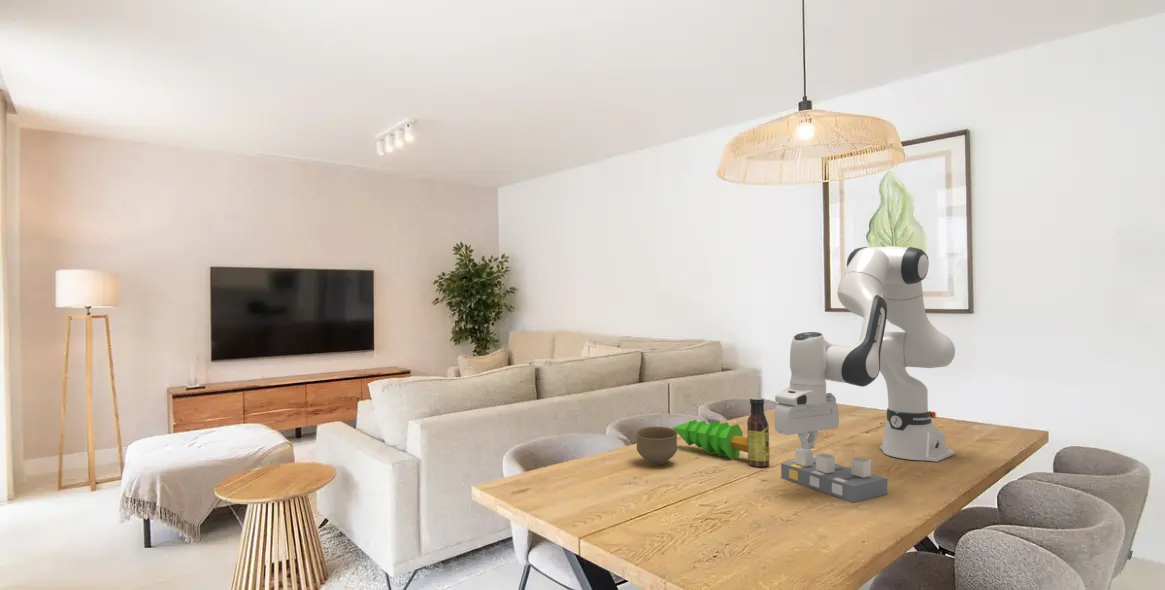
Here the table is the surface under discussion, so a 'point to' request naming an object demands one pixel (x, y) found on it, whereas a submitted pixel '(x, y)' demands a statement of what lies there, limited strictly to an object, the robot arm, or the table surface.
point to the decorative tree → (714, 437)
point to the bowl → (656, 444)
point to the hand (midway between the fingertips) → (807, 448)
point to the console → (835, 481)
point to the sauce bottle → (758, 434)
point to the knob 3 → (861, 467)
